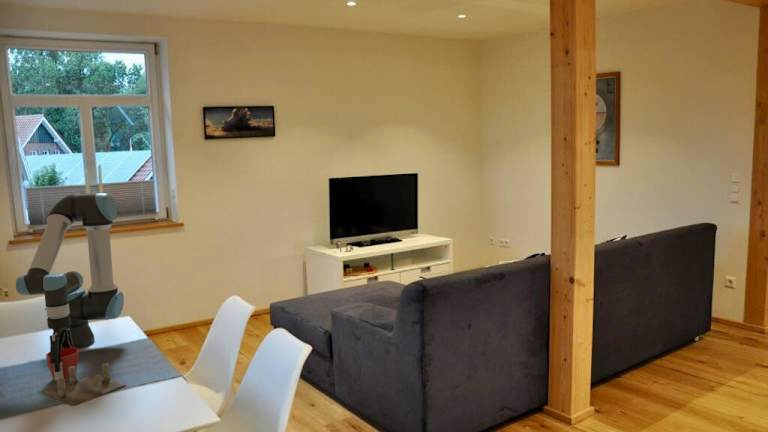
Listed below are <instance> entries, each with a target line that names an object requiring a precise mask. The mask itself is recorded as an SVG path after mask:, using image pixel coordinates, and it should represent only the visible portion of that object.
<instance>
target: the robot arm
mask: <svg viewBox="0 0 768 432" xmlns="http://www.w3.org/2000/svg"><path fill="white" fill-rule="evenodd" d="M117 217H118V208H117V204H116V201H115V199H114V198H113V196H112V195H111V194H109V193H106V192H105V193H104V192H103V193H102V192H97V193H95V192H94V193H73V194H69V195H66V196H64V197H63V198H62V199H60V200H59V201H58V202H57V203H55V204H54V205H53V207H52V208H51V209H50V211H49V213H48V214H47V217H46V227H45V229H44V231H43V234H42V237H41V239H40V240H39V244H38V246H37V249H36V251H35V254H34V255H33V256H34V257H33V259H32V261H31V263H30V266H29V269H28V271H27V273H26V274H22V275H19V276H18V277H17V278H16V280H15V289H16V292H17V293H18V294H19V295H20V296H21V295H22V296H36V295H44V303H45V307H44V311H45V313H46V317H47V318H46V323H47V328H48V329H50V330H52V332H53V333H52V335H49V342H50V343H49V345H50V347H49V350H50V351H49V352H50V364H52V363H53V366H54V376H55V380H58V379H62V378H64V377H63V368H62V362H61V351H62V348H71V347H72V348H77V349H80V348H85V347H87V346H90V345H92V344H93V343H94V342H95V334H94V332H93V330H92V329H91V326H90V324H89V321H93V320H94V321H97V320H101V321H102V320H103V321H104V320H106V321H108V320H115V319H118V318H119V316H120V315H121V313H122V311H123V309H124V306H125V305H124V304H125V296H124V293H123V292H122V291H120V290H118V288H119V287H118V285H116V284H115V283H114V274H113V273H114V272H113V263H112V262H113V260H112V248H111V246H112V245H111V234H110V228H111V227H112V226H113V223H114V222H113V221H114V220H116V219H117ZM75 222H76V223H77V222H81V224H82V228H84V229H85V230H86V233H87V234H86V235H87V246H88V259H89V272H90V283H91V286H90V287H89V288H88V289H87V291H86V289H84V288H81V287H83V284H84V278H83V276H82V274H81V273H79V272H78V271H67V272H66V273H63V272H57V273H56V272H54V273H52V270H53V268H54V266H55V262H56V260H57V257H58V254H59V252H60V249H61V247H62V244H63V241H64V239H65V236H66V235H67V231H68V230H69V229H70V228H71V227H72V226H73V223H75ZM55 359H56V360H55ZM55 380H54V381H55Z"/></svg>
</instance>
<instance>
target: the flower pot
mask: <svg viewBox="0 0 768 432" xmlns="http://www.w3.org/2000/svg"><path fill="white" fill-rule="evenodd" d="M45 358H46V361H47V366H48V368H49V371H50V375H51V377H52V379H53V381H56V382H57V380H55V376H54V366H53V363H52V364H50V351H49V352H47V353H46V355H45ZM55 360H56V359H55ZM78 360H79V348H72V347H71V348H62V351H61V362H62V368H63V377H64V379H65V381H68V380H69V371H68V368H69V367H71V366H75V367H76V374H77V370H78V364H79V363H78V362H79V361H78Z"/></svg>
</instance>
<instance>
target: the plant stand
mask: <svg viewBox="0 0 768 432" xmlns="http://www.w3.org/2000/svg"><path fill="white" fill-rule="evenodd" d="M68 371H69V383H67V384H66V380H65V379H64V378H62V379H58V380H57V381H56V385H57V387H55V388H51V389H49V390H46V391H44V394H45V395H47V396H49V397H50V398H54V399H56V400H58V401H60V402H63V403H64V404H67V405H69V406H71V407H75V406H78V405H80V404H83V403H85V402H88V401H91V400H93V399H97V398H99V397H100V396H104V395H107V394H109V393H112V392H115V391H117V390H119V389H122V388H125V387H127V384H126V383H122V382H120V381H116V380H114V379H112V378H111V370H110V363H103V364H101V371H102V375H101V374H99V373H94V374H92V375H90V376H86V377H83V378H81V379H78V377H77V373H76V367H75V366H71V367H69V368H68Z"/></svg>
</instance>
